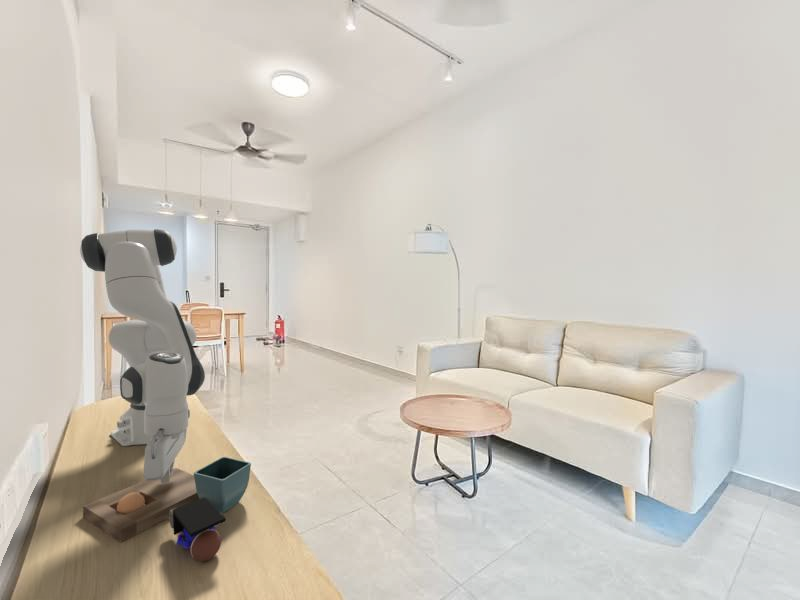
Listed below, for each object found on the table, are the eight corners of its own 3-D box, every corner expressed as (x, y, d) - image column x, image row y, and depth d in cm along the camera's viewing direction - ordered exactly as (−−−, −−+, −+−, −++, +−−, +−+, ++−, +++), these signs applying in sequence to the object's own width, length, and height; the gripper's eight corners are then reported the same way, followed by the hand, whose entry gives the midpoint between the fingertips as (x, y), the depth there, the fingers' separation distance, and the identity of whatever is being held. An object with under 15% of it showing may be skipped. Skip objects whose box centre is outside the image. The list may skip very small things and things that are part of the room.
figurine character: (165, 542, 76) (191, 574, 65) (164, 503, 76) (189, 529, 66) (201, 527, 81) (230, 554, 70) (200, 491, 81) (228, 512, 71)
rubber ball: (134, 491, 80) (148, 487, 85) (109, 499, 79) (125, 495, 84) (137, 515, 79) (151, 510, 83) (112, 524, 78) (128, 519, 83)
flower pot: (222, 521, 81) (222, 480, 80) (192, 511, 84) (192, 472, 83) (252, 499, 89) (252, 462, 88) (223, 492, 92) (223, 456, 92)
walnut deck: (83, 517, 81) (83, 505, 81) (175, 477, 98) (175, 467, 98) (121, 542, 73) (121, 529, 73) (214, 494, 91) (214, 484, 91)
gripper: (169, 437, 79) (169, 501, 79) (191, 408, 99) (191, 459, 99) (134, 440, 77) (134, 506, 78) (164, 410, 97) (164, 462, 97)
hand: (166, 480), depth 88 cm, fingers closed
